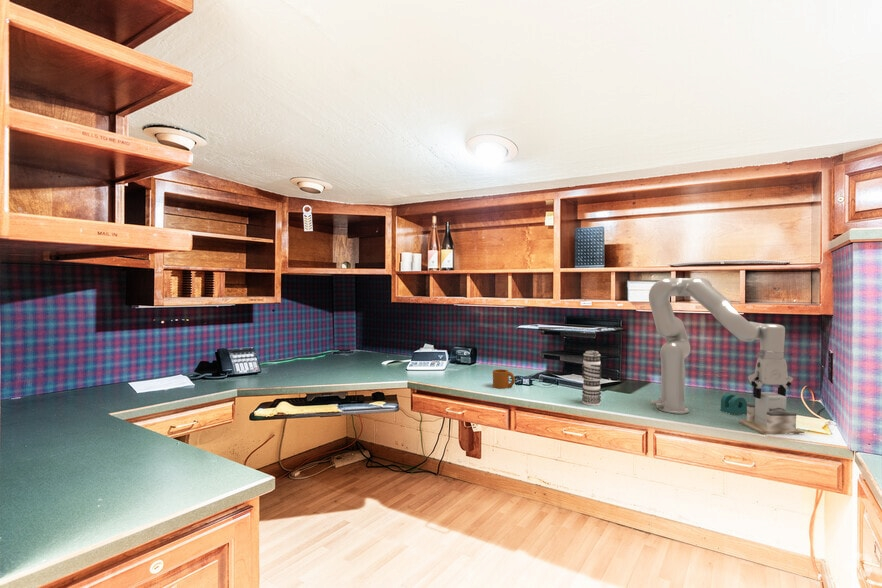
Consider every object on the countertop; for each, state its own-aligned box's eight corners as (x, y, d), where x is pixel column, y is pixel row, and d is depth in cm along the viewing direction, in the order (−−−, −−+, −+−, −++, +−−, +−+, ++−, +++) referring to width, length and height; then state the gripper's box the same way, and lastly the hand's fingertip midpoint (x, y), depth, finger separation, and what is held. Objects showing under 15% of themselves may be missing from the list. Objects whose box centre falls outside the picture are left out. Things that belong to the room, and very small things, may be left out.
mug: (511, 390, 231) (511, 373, 230) (490, 388, 236) (490, 371, 236) (516, 386, 239) (516, 370, 238) (495, 384, 244) (495, 368, 244)
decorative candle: (603, 402, 208) (604, 350, 207) (599, 406, 200) (599, 353, 199) (584, 399, 212) (584, 349, 212) (579, 403, 205) (579, 351, 204)
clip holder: (762, 433, 164) (762, 413, 164) (738, 422, 177) (739, 404, 177) (804, 434, 164) (804, 413, 164) (777, 422, 177) (778, 404, 177)
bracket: (733, 415, 187) (733, 397, 187) (720, 411, 194) (721, 393, 194) (768, 413, 190) (769, 396, 190) (755, 409, 197) (755, 392, 196)
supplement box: (767, 428, 167) (767, 396, 167) (753, 422, 175) (754, 391, 174) (786, 428, 167) (787, 396, 167) (772, 422, 174) (773, 391, 174)
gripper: (756, 356, 166) (754, 400, 167) (801, 357, 166) (798, 401, 167) (743, 353, 174) (740, 394, 175) (785, 353, 174) (783, 395, 174)
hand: (769, 397), depth 171 cm, fingers open, 9 cm apart
